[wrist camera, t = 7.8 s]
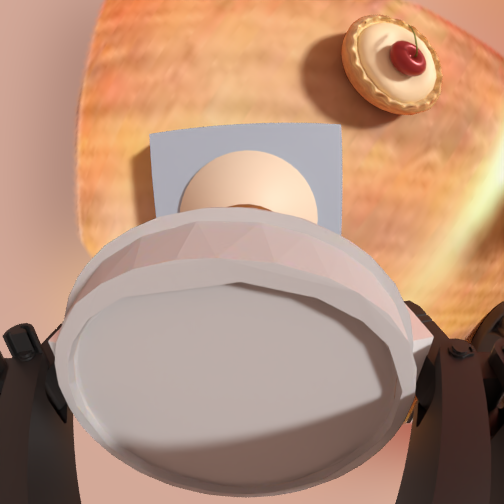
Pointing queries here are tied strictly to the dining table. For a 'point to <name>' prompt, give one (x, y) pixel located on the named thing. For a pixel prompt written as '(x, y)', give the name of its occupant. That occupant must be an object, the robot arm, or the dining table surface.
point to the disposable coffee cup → (237, 352)
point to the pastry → (392, 65)
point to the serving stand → (251, 169)
